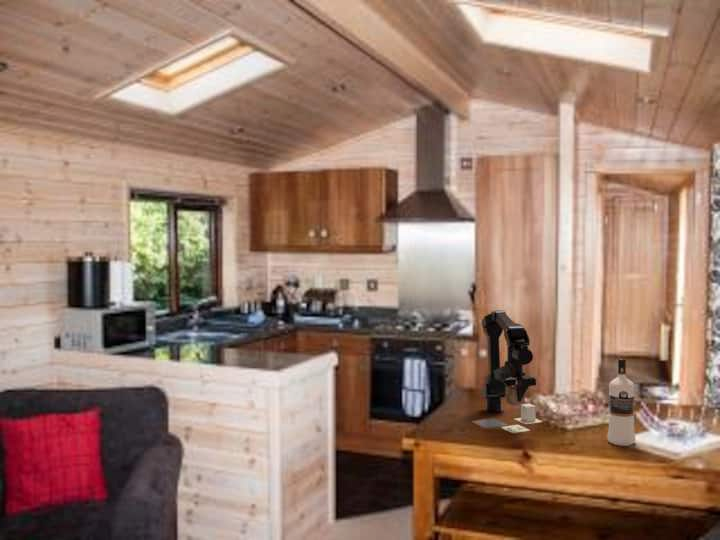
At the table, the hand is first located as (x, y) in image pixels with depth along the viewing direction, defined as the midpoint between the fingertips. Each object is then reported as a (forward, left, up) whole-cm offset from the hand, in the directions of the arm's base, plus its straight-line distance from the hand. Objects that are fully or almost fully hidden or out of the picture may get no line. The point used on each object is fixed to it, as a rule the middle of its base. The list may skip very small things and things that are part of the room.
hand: (515, 399), depth 251 cm
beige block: (-7, +11, -11) cm, 17 cm away
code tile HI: (-7, +11, -11) cm, 17 cm away
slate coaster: (-10, -5, -11) cm, 16 cm away
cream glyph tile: (0, 0, -11) cm, 11 cm away
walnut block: (0, 0, -1) cm, 1 cm away
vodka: (+28, +25, -12) cm, 39 cm away
